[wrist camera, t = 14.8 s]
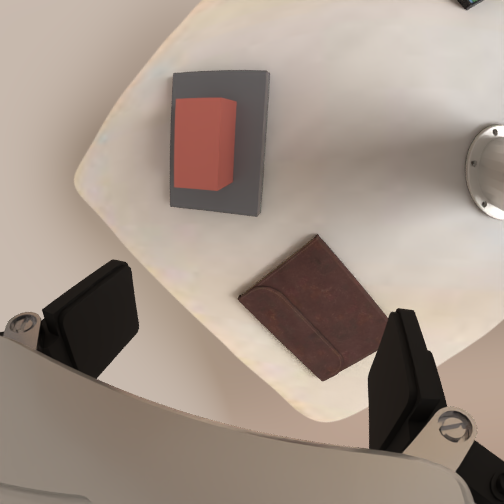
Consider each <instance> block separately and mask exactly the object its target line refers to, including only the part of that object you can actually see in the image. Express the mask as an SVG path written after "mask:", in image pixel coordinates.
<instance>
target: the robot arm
mask: <svg viewBox="0 0 504 504" xmlns="http://www.w3.org/2000/svg"><path fill="white" fill-rule="evenodd" d="M471 161H472V162H473V163H472V164H471ZM466 181H467V185H468V189H469V192H470V194H471V197H472V199H473V200H474V202H475V203H476V205H477V206H478V207H479V208H480V209H481V210H482V211H483V212H484V213H486V214H487V215H489V216H490V217H492V218H495V219H499V220H504V125H493V126H490V127H487V128H485V129H484V130H482V131H481V132H480V133H479V134H478V135H477V136H476V137H475V139H474V140H473V142H472V144H471V146H470V148H469V151H468V154H467V160H466ZM482 202H483V204H482ZM42 311H43V315H44V319H43V320H42V321H41V318H40V316H39V315H38V314H36V313H33V312H25V313H20V314H18V315H16V316H14V317H13V318H11V319H10V320H9V321H8V323H7V325H6V328H5V331H4V332H0V504H504V461H502V460H501V459H500V458H498V457H497V456H496V455H494V454H493V453H491V452H490V451H489V450H487V449H486V448H485V447H483V446H482V445H480V444H479V443H478V442H476V441H475V438H476V435H477V425H476V423H475V420H474V419H473V418H472V416H471V415H470V414H469V413H467V412H466V411H465V410H463V409H460V408H457V407H447V404H446V400H445V396H444V392H443V389H442V385H441V381H440V378H439V375H438V372H437V368H436V364H435V361H434V358H433V355H432V353H431V352H430V351H428V350H427V348H426V344H425V341H424V338H423V335H422V332H421V329H420V326H419V323H418V320H417V317H416V315H415V312H414V310H407V309H400V308H398V309H397V310H396V312H391V313H390V315H389V318H388V321H387V324H386V327H385V330H384V333H383V336H382V339H381V342H380V345H379V347H378V350H377V353H376V356H375V358H374V361H373V364H372V366H371V369H370V372H369V375H368V398H369V449H366V448H359V447H350V446H340V445H333V444H325V443H319V442H313V441H306V440H301V439H295V438H289V437H283V436H278V435H272V434H268V433H262V432H258V431H253V430H249V429H245V428H241V427H237V426H232V425H229V424H225V423H221V422H217V421H213V420H209V419H206V418H203V417H199V416H196V415H192V414H189V413H186V412H183V411H179V410H176V409H174V408H170V407H167V406H165V405H162V404H158V403H156V402H153V401H150V400H147V399H145V398H142V397H139V396H136V395H134V394H131V393H129V392H126V391H124V390H121V389H119V388H116V387H114V386H111V385H109V384H107V383H104V382H102V381H100V380H97V377H98V376H99V375H100V374H101V373H102V372H103V371H104V370H105V368H106V367H107V366H108V365H109V364H110V363H111V362H112V360H113V359H114V358H115V357H116V356H117V355H118V353H120V351H121V350H122V349H123V348H124V347H125V346H126V345H127V344H128V343H129V341H130V340H131V339H132V338H133V337H134V336H135V335H136V333H137V332H138V329H139V322H138V315H137V309H136V303H135V295H134V287H133V280H132V271H131V268H130V267H129V266H128V264H127V263H126V262H123V261H118V260H111V261H109V262H108V263H106V264H105V265H103V266H102V267H101V268H99V269H98V270H96V271H95V272H93V273H92V274H90V275H89V276H88V277H86V278H85V279H84V280H82V281H80V282H79V283H78V284H76V285H75V286H73V287H72V288H71V289H69V290H68V291H67V292H65V293H64V294H62V295H61V296H60V297H59V298H57V299H56V300H54V301H53V302H52V303H50V304H49V305H48V306H46V307H45V308H44V309H42Z"/></svg>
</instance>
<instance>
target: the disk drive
mask: <svg viewBox="0 0 504 504" xmlns="http://www.w3.org/2000/svg"><path fill="white" fill-rule="evenodd" d="M482 1H483V0H458V2H459V3H460V4H461V5H462V6H463V7H464V8H465V9H466V10H468V9H470V8H471V7H473V6H475V5H477V4H478V3H480V2H482Z"/></svg>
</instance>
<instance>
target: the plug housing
mask: <svg viewBox="0 0 504 504" xmlns="http://www.w3.org/2000/svg"><path fill="white" fill-rule="evenodd" d="M236 106H237V101H233V100H229V99H225V98H183V99H176V108H175V141H174V187H177V188H190V189H202V190H214V191H218V190H220V189H222V188H223V187H225V186H227V185H229V184H231V183H232V182H233V167H234V145H235V125H236Z"/></svg>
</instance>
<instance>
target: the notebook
mask: <svg viewBox="0 0 504 504" xmlns="http://www.w3.org/2000/svg"><path fill="white" fill-rule="evenodd" d="M238 300H239V301H240V302H241V303H242V304H243V305H244V306H245V307H246V308H247V309H248V310H249V311H250V312H251V313H252V314H253V315H254V316H255V317H256V318H257V319H258V320H259V321H260V322H261V323H262V324H263V325H264V326H265V327H266V328H267V329H268V330H269V331H270V332H271V333H272V334H273V335H274V336H275V337H276V338H277V339H278V340H279V341H280V342H281V343H282V344H283V345H285V346H286V347H287V348H288V349H289V350H290V351H291V352H292V353H293V354H294V355H295V356H296V357H297V358H298V359H299V360H300V361H301V362H302V363H303V364H304V365H305V366H307V367H308V368H309V369H310V370H311V371H312V372H313V373H314V374H315V375H316V376H317V377H318V378H319V379H320V380H321V381H325V380H327V379H329V378H331V377H333V376H335V375H336V374H338V373H339V372H340V371H342V370H344V369H346V368H348V367H349V366H351V365H353V364H355V363H357V362H358V361H360V360H362V359H364V358H365V357H367V356H369V355H370V354H372V353H374V352H376V351H377V350H378V347H379V345H380V342H381V339H382V336H383V333H384V330H385V327H386V324H387V321H388V318H387V316H386V315H385V314H384V313H383V311H382V310H381V309H380V308H379V306H378V305H377V304H376V303H375V301H374V300H373V299H372V298H371V297H370V295H369V294H368V293H367V292H366V290H365V289H364V288H363V287H362V286H361V284H360V283H359V282H358V281H357V280H356V278H355V277H354V276H353V275H352V274H351V272H350V271H349V270H348V269H347V268H346V267H345V265H344V264H343V263H342V262H341V261H340V260H339V258H338V257H337V256H336V255H335V254H334V253H333V251H332V250H331V249H330V248H329V247H328V246H327V245H326V243H325V242H324V241H323V240H322V239H321V238H320V237H319V235H318V234H317V235H316V237H315V238H313V239H312V240H311V241H310V242H308V243H307V244H306V245H305V246H303V247H302V248H301V249H300V250H298V251H297V252H296V253H295V254H293V255H292V256H291V257H289V258H288V259H287V260H286V261H284V262H283V263H282V264H281V265H279V266H278V267H277V268H276V269H274V270H273V271H272V272H270V273H269V274H268V275H267V276H265V277H264V278H263V279H262V280H260V281H259V282H258V283H256V284H255V285H254V286H253V287H251V288H250V289H249V290H247V291H246V292H245V293H244V294H242V296H241V295H240V296H239V297H238Z"/></svg>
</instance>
